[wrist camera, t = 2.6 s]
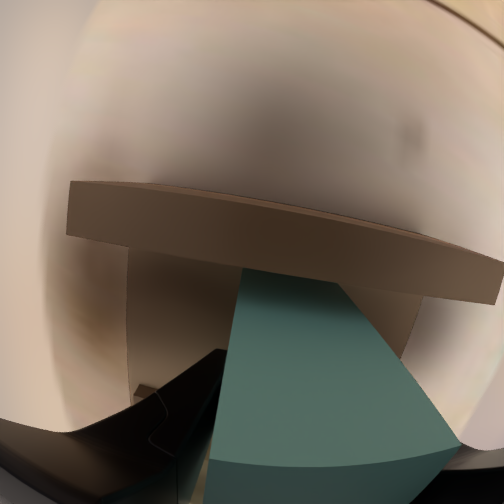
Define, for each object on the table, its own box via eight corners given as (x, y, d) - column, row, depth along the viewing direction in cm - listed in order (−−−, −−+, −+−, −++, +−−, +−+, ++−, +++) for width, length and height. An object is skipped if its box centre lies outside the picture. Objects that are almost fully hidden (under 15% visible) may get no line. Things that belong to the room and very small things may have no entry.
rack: (287, 523, 15) (290, 568, 10) (154, 506, 15) (141, 551, 10) (422, 234, 10) (506, 263, 5) (148, 183, 10) (70, 180, 5)
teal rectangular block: (294, 403, 11) (318, 569, 3) (221, 394, 11) (193, 566, 3) (332, 276, 9) (462, 444, 2) (243, 262, 9) (208, 458, 2)
